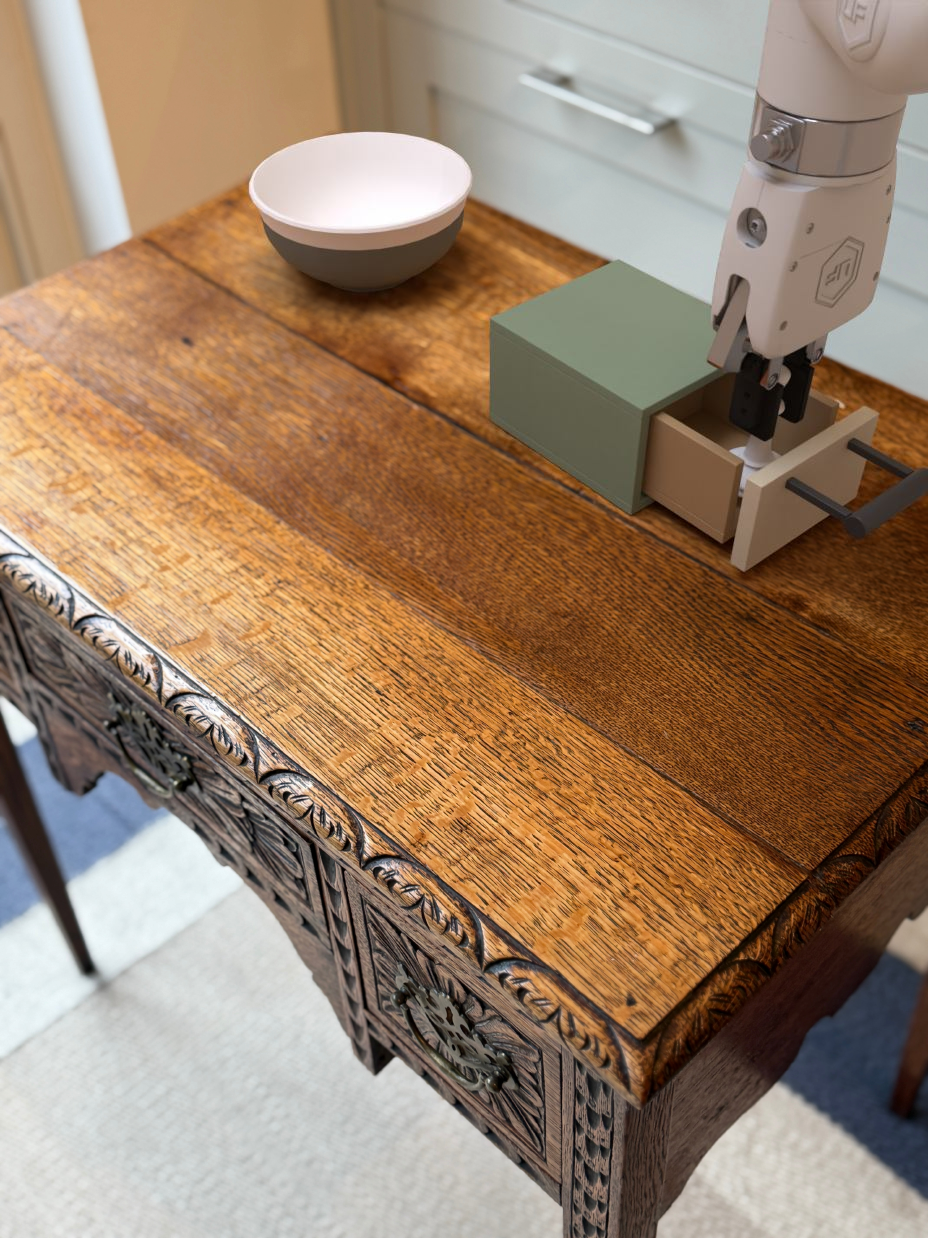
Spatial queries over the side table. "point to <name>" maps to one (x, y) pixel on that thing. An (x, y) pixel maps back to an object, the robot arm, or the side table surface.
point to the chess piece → (759, 446)
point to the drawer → (768, 472)
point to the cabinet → (598, 372)
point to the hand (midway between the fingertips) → (765, 419)
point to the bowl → (362, 206)
